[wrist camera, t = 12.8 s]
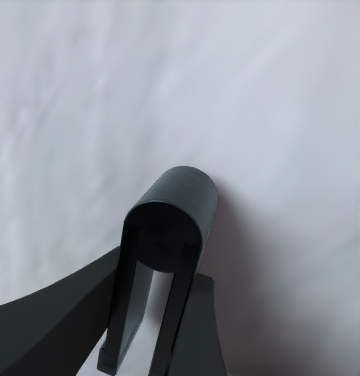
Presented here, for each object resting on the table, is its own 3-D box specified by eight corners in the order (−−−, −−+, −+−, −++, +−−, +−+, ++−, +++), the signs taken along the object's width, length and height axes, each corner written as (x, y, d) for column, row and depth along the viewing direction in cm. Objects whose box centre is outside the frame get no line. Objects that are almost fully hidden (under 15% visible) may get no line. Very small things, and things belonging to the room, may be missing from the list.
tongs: (156, 156, 11) (121, 187, 9) (232, 178, 11) (219, 218, 8) (127, 313, 15) (95, 370, 12) (183, 335, 14) (163, 399, 12)
